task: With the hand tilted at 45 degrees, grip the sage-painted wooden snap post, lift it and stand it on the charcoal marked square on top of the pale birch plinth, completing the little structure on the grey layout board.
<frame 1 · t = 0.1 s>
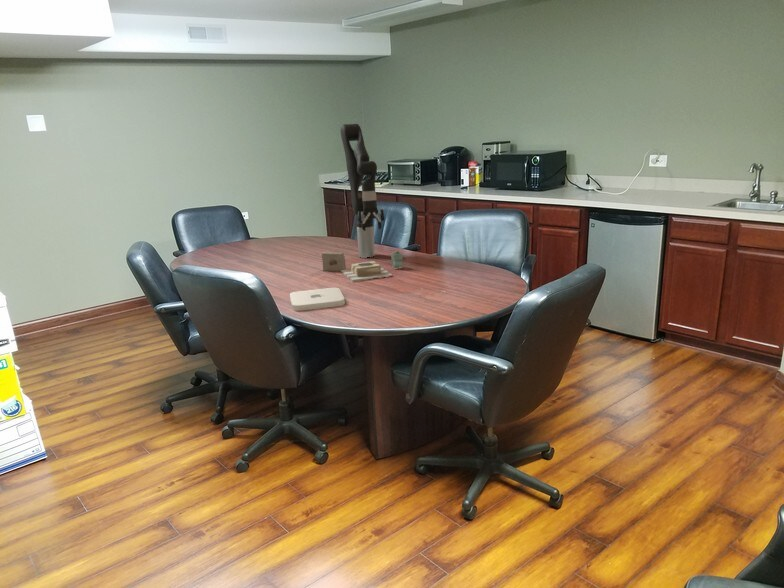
hand: (371, 229, 313), 17 cm above the table, tool pointing down, fingers open, 8 cm apart
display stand: (366, 274, 290), on the table
snap post: (397, 268, 299), on the table
fossil: (334, 270, 302), on the table
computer: (317, 302, 250), on the table
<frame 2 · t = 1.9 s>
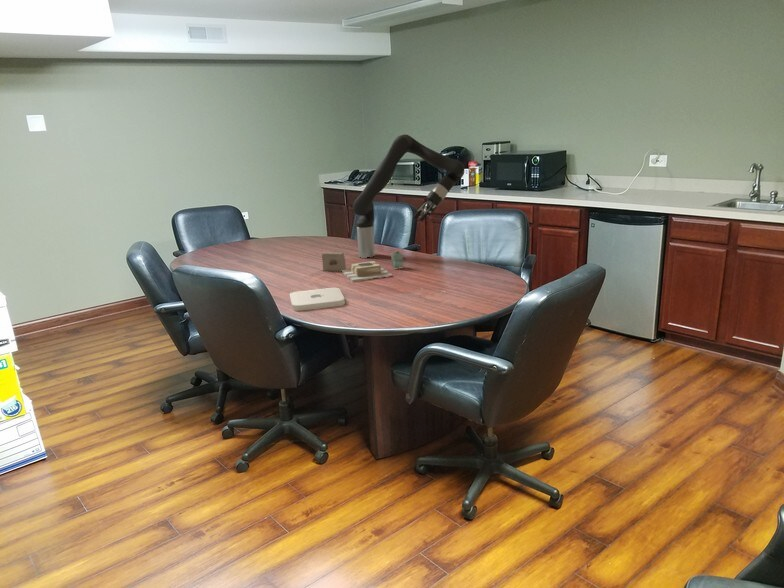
hand: (417, 219, 296), 24 cm above the table, tool tilted 45°, fingers open, 8 cm apart
nothing on the table moved.
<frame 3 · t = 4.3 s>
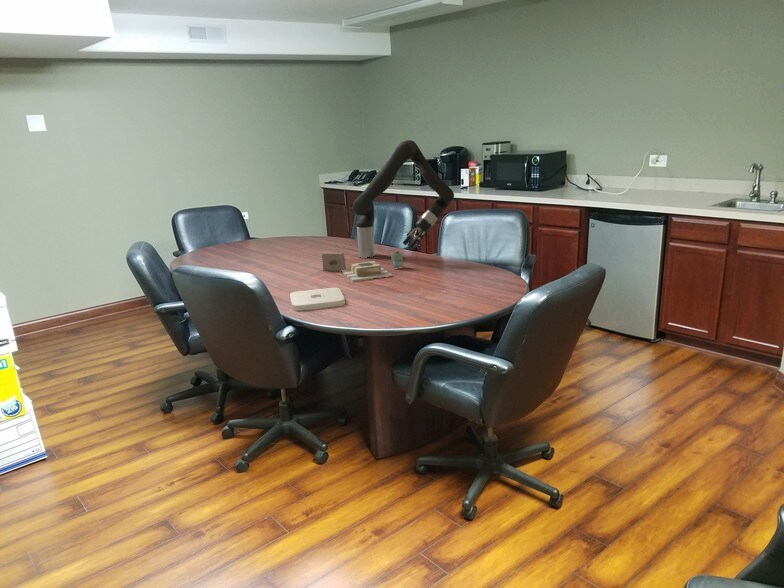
hand: (406, 245, 297), 11 cm above the table, tool tilted 45°, fingers open, 8 cm apart
nothing on the table moved.
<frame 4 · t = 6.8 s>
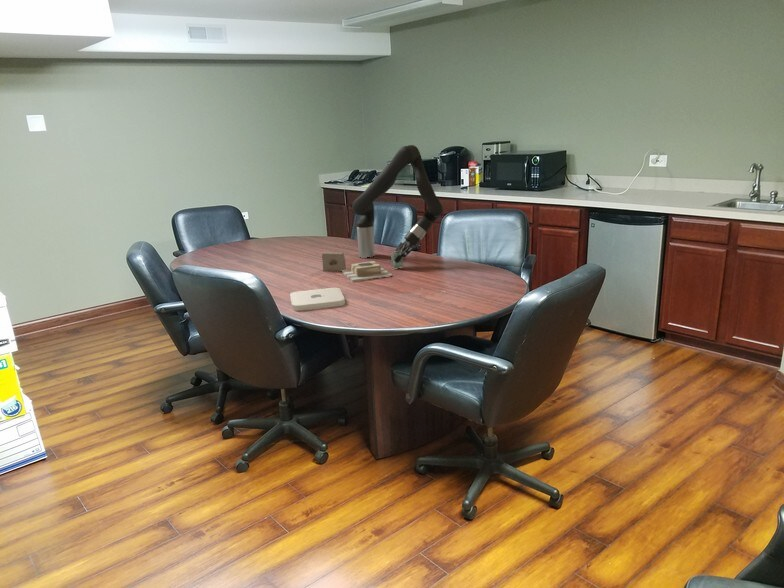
hand: (394, 260, 297), 4 cm above the table, tool tilted 45°, fingers closed on snap post, 4 cm apart
snap post: (397, 268, 299), on the table, touching gripper
everything else where it was.
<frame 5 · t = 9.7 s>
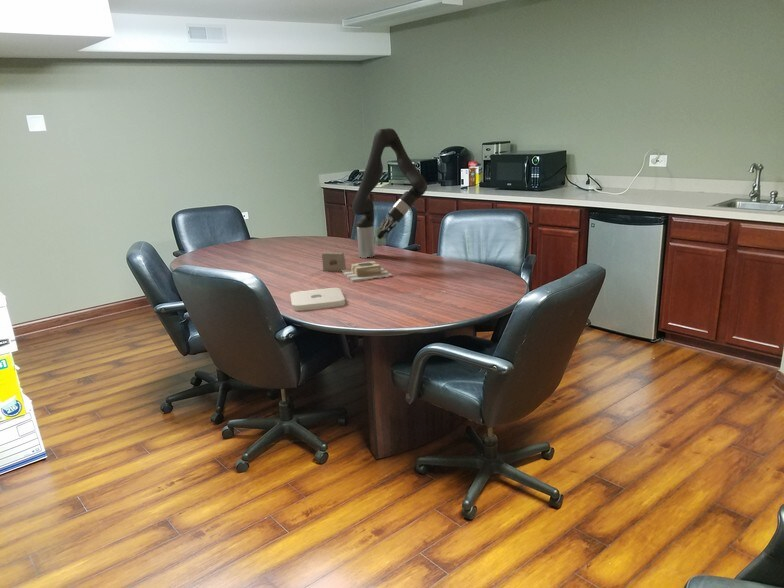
hand: (377, 236, 289), 18 cm above the table, tool tilted 45°, fingers closed on snap post, 4 cm apart
snap post: (380, 244, 290), point 14 cm above the table, touching gripper
everything else where it was.
when the fingers open (11 cm above the table, at t = 12.6 s): snap post drops 1 cm, resting on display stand.
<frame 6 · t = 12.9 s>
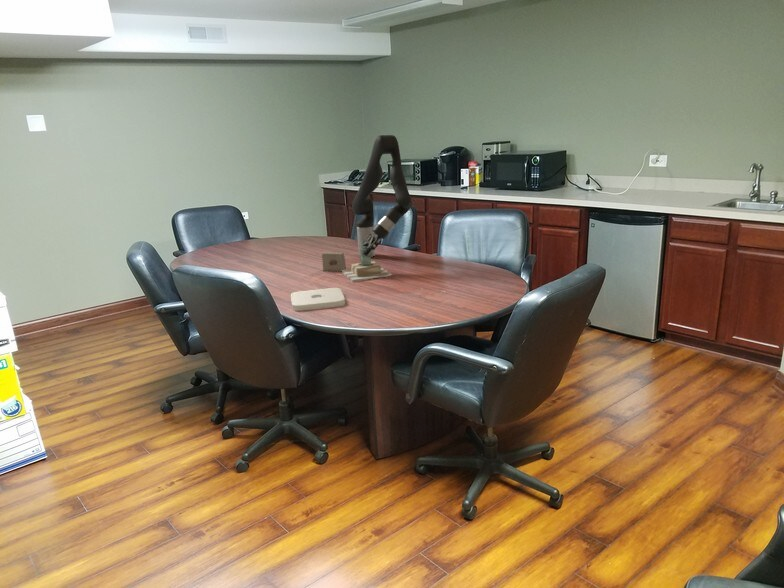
hand: (362, 253, 286), 11 cm above the table, tool tilted 45°, fingers open, 7 cm apart
snap post: (365, 264, 288), point 5 cm above the table, touching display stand
everything else where it was.
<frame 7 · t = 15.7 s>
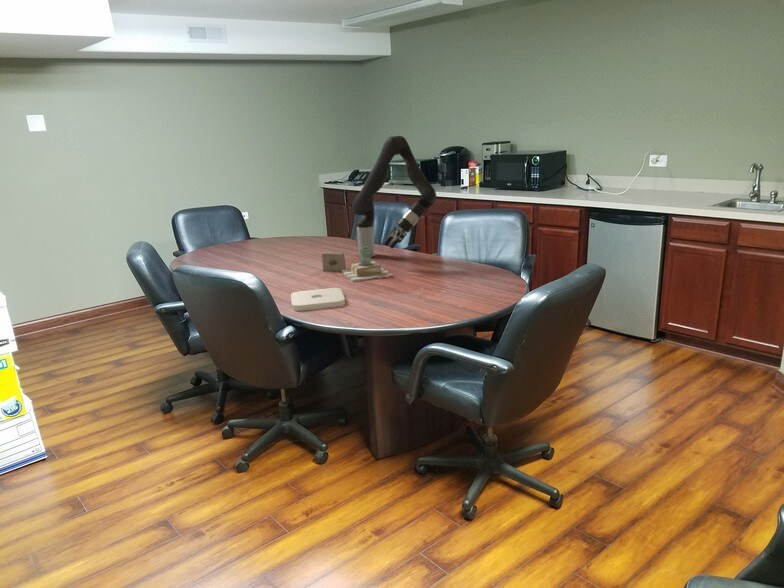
hand: (387, 246, 290), 13 cm above the table, tool tilted 45°, fingers open, 8 cm apart
nothing on the table moved.
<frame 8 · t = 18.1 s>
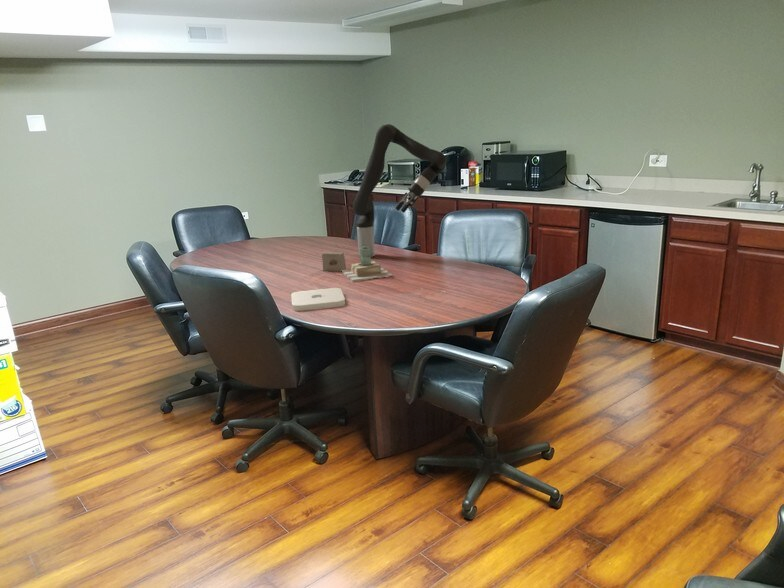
hand: (399, 210, 298), 29 cm above the table, tool tilted 45°, fingers open, 8 cm apart
nothing on the table moved.
at the end: snap post inside the target area on the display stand (0.1 cm from its centre), point 5.2 cm above the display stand's base; snap post tilted 0°; the gripper is holding nothing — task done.
